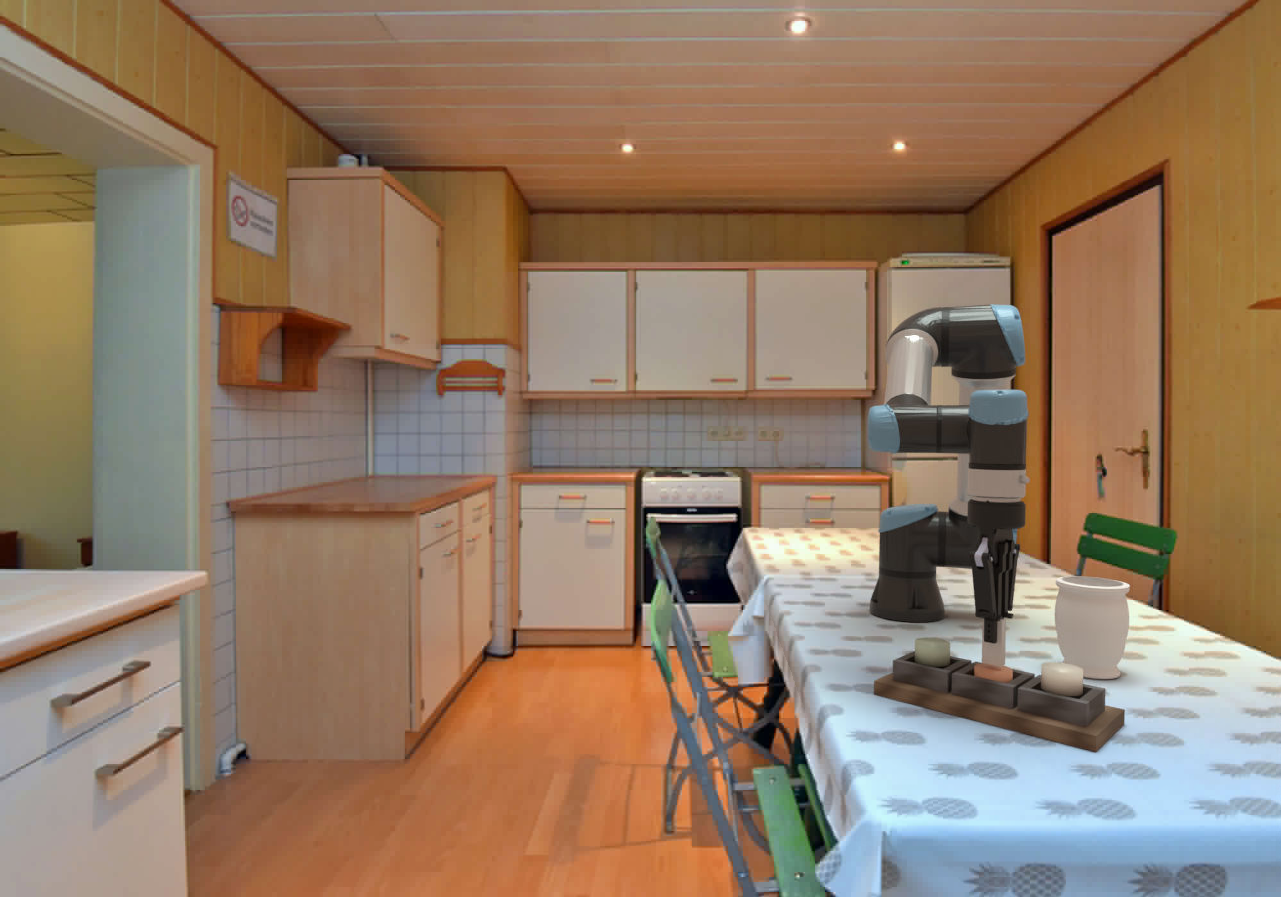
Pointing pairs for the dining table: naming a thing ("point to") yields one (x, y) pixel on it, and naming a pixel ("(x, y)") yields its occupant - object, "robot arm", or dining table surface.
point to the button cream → (1062, 679)
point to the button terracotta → (993, 672)
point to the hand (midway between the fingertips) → (993, 663)
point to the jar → (1092, 624)
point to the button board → (1004, 701)
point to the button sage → (932, 652)
